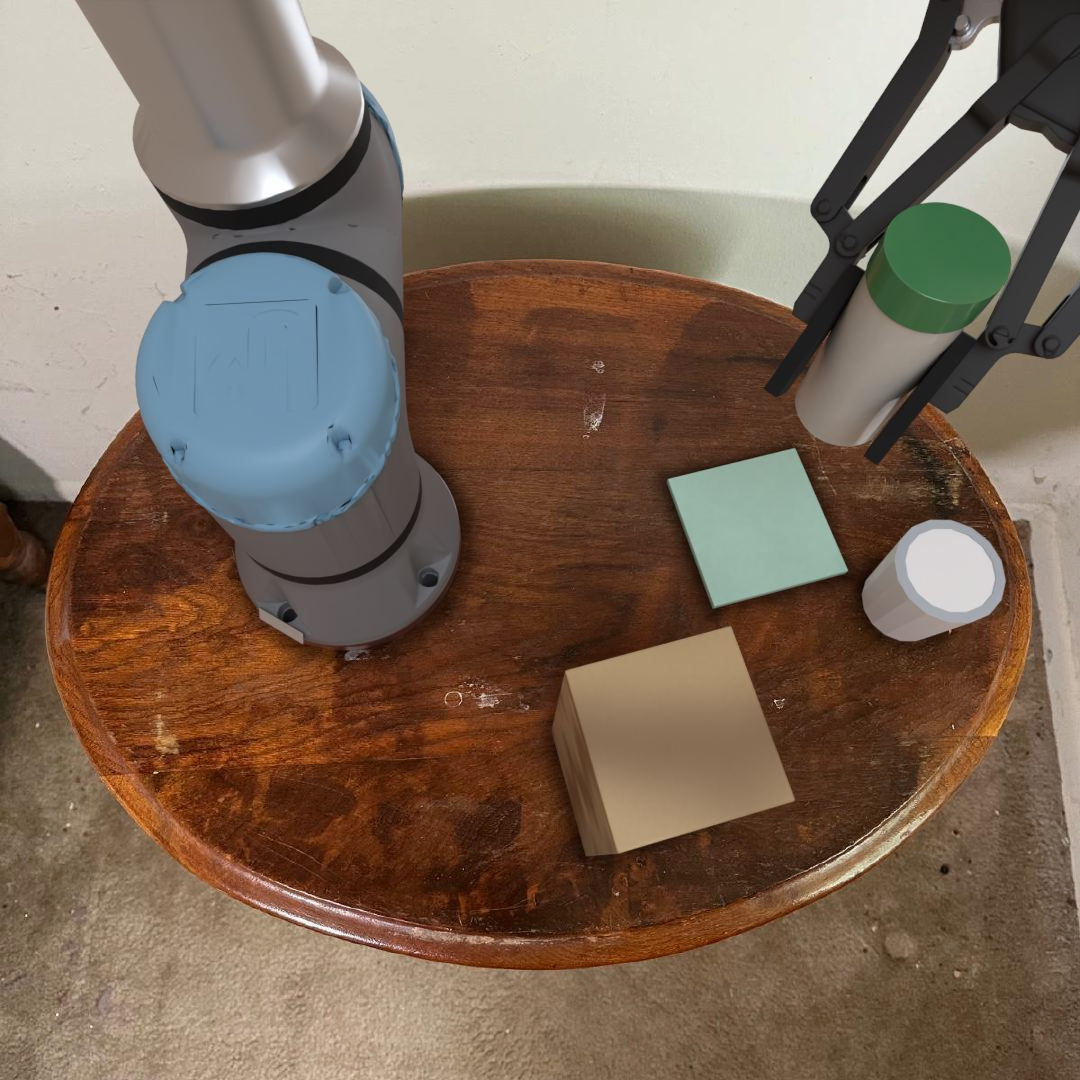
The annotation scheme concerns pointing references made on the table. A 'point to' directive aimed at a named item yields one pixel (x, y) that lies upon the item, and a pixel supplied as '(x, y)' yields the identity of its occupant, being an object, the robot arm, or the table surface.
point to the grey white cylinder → (934, 582)
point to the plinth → (665, 743)
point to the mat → (755, 527)
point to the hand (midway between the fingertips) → (824, 422)
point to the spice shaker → (901, 319)
